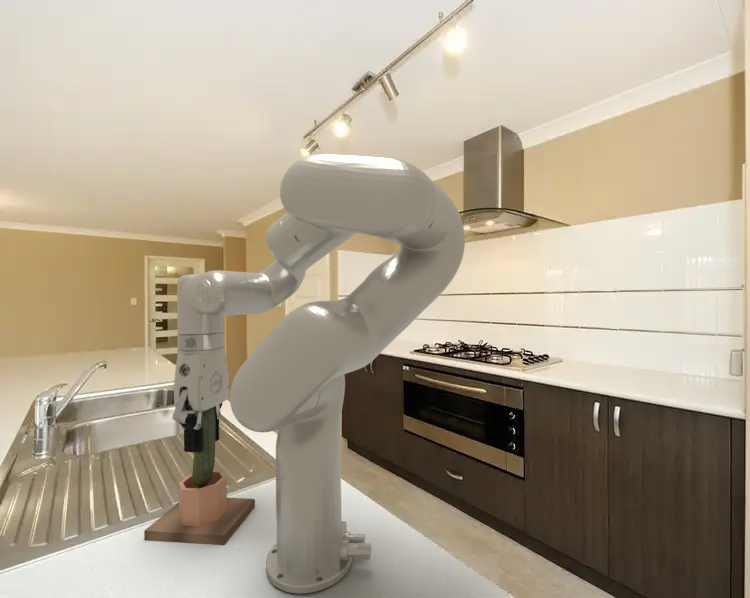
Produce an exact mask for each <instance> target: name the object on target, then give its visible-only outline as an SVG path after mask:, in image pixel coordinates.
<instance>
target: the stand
mask: <svg viewBox="0 0 750 598" xmlns="http://www.w3.org/2000/svg"><path fill="white" fill-rule="evenodd" d="M255 507H256V498H247V497H246V498H245V497H244V498H243V497H242V498H240V497H227V510H226V511H225V513H224V514H223V515H222V516H221V517H220V518H219V519H218V520H216V521H213V522H210V523H207V524H205V525H202V526H183V525H182V523H181V520H180V518H179V501H178V502H177V503H176V504H174V505H173V506H172V507H171V508H169V510H168V511H166V512H165V513H164V514H162V516H159V518H158V519H157V520H155V521H154V522H153V523H152V524H150V525H149V526H148V527H147V528H146V529H145V530H144V531H143V532H144V533H143V536H144V537H143V538H144V541H153V542H154V541H157V542H173V543H187V544H188V543H189V544H204V545H206V544H207V545H217V546H218V545H223V546H224V545H225V544H226V543H227V542H228V541H229V540H230V538H231V537H232V536H233V535H234V534H235V532H236V531H237V530H238V529H239V527H240V526H241V525H242V524H243V522H244V521H245V520H246V518H247V517H248V516H249V514H251V512H252V511H253V510H254V508H255Z"/></svg>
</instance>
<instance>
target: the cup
mask: <svg viewBox="0 0 750 598" xmlns="http://www.w3.org/2000/svg"><path fill="white" fill-rule="evenodd" d="M227 477H228V476H227V475H226V474H225V473H224V472H223V470H213V473H212V478H211V480H210V482H209V483H208V484H207V485H206V486H205V487H203V488H200V489H198V488H194V487H193V482H192V474H189V475H187V476H186V477H185V478H183V479H182V480H181V481H180V482H178V502H179V518H180V520H181V523H182V525H183V526H202V525H205V524H207V523H210V522H213V521H216V520H218V519H219V518H220V517H221V516H222V515H223V514H224V513H225V511H226V510H227V498H228V491H227V490H228V489H227V486H228V485H227V484H228V483H227V482H228V481H227V480H228V479H227Z"/></svg>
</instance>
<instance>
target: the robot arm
mask: <svg viewBox="0 0 750 598" xmlns="http://www.w3.org/2000/svg"><path fill="white" fill-rule="evenodd" d="M283 175H284V176H283V177H282V180H281V181H280V188H279V198H280V203H281V204H282V207H283V209H284V210H285V211H286V212H285V213H284V214H283V215H282V216H280V217H278V219H276V220H275V221H274V222H273V223H272V224H270V226H268V228H267V230H266V234H265V239H266V245H267V247H268V249H269V251H270V253H271V255H272V257H273V258H274V259H275V260H274V261H273V262H272V263H270V264H269V265H268V266H266V267H265V268H264V269H262V270H261V271H259V272H249V271H248V272H247V271H235V270H232V271H231V270H219V269H217V270H209V271H206V272H203V273H194V274H192V273H191V274H184V275H181V276H180V277H179V278H178V279H177V283H176V302H177V303H176V305H177V306H176V307H177V308H176V309H177V310H176V311H177V312H176V314H177V315H176V316H177V319H176V320H177V321H176V322H177V323H176V324H177V326H176V327H177V357H176V363H175V370H174V381H173V382H174V386H173V399H174V401H173V402H174V403H173V404H174V408H175V409H174V411H173V414H172V420H174V421H175V422H177V423H178V424H179V425H180V426H181V430H183V451H184V452H185V453H194V452H199V453H200V452H202V451H203V428H200V426H201V418H202V412H204V411H207V410H209V409H211V408H214V412H215V422H216V427H215V442H218V441H219V440H220V418H221V416H222V415H221V413H222V412H221V408H222V406H223V403H224V402H225V401H227V399H229V402H230V409H231V411H232V414H233V415H234V417H235V419H236V420H237V422H238V423H239V424H240V425H241V426H243V427H244V428H246V429H248V430H250V431H253V432H255V433H271V432H274V431H277V430H278V431H277V435H276V441H275V442H276V443H275V501H276V502H275V503H276V507H275V509H276V511H275V512H276V515H275V516H276V543H275V544H274V546H272V548H271V549H270V551H269V553H268V554H267V558H266V561H265V570H266V576H267V578H268V581H269V582H270V583H271V584H272V586H275V587H276V588H278V589H280V590H281V591H283V592H286V593H292V594H310V593H317V592H319V591H323V590H325V589H327V588H330V587H332V586H333V585H334V584H337V583H338V582H339V581H340V580H341V579H343V577H345V575H346V574H347V573H348V572H349V570H350V568H351V566H352V564H353V559H358V560H369V561H370V560H371V555H372V543H369V542H366V534H363V533H356V534H355V533H351V531H347V528H348V525H347V521H345V520H342V518H343V517H342V478H341V477H342V474H341V472H342V471H341V467H342V466H341V463H342V462H341V427H342V426H341V424H342V413H343V412H342V411H343V405H344V398H345V391H346V376H345V375H346V374H349V373H351V372H355V371H357V370H360V369H363V368H364V367H366V366H368V365H369V364H371V363H372V362H373V361H374V360H375V359H376V358H377V357H378V356H379V355H380V354H381V352H383V351H384V350H385V349H386V348H387V347H388V346H389V345H390V344H391V343H392V342H393V341H394V340H395V339H396V338H397V337H398V336H399V335H401V334H402V332H403V331H405V329H407V328H408V327H409V326H410V325H411V324H412V323H413V322H414V321H415V320H416V318H418V317H419V316H420V315H421V314H422V313H423V312H424V311H425V310H426V309H427V308H428V307H429V306H430V305H431V304H432V303H433V302H434V301H435V300H436V299H437V298H439V296H441V294H442V293H444V291H445V290H446V289H447V288H448V286H449V285H450V284H451V282H452V281H453V279H454V278H455V276H456V274H457V272H458V270H459V268H460V266H461V264H462V261H463V258H464V253H465V242H466V240H465V239H466V237H465V227H464V224H463V220H462V217H461V214H460V212H459V210H458V208H457V206H456V205H455V203H454V201H453V200H452V198H451V197H450V196H449V195H448V194H447V193H446V191H444V190H443V189H442V188H441V187H440V186H439V185H438V184H437V183H436V182H434V181H433V180H432V179H431V178H430V177H429V176H428V175H427V174H426V173H425V172H424V171H422V169H420V168H419V167H417V166H416V165H414V164H413V163H410V162H407V161H405V160H402V159H398V158H393V157H387V156H386V157H383V156H367V155H366V156H365V155H353V154H352V155H350V154H337V153H336V154H335V153H315V154H310V155H307V156H304V157H302V158H300V159H298V160H297V161H295V162H293V164H291V166H290V167H289V168H288V169H287V170H286V171H285V173H284V174H283ZM356 234H363V235H368V236H372V237H376V238H380V239H384V240H387V241H389V242H393V243H396V244H398V245H400V246H399V249H398V250H397V251H396V252H395V253H394V254H393V255H392V256H391V257H389V258H388V259H386V260H384V261H383V262H382V263H381V264H379V265H378V266H377V267H375V268H374V269H373V270H372V271H371V272H369V274H368V275H367V277H366V278H365V279H364V280H363V281H362V282H360V284H359V285H358V286H357V287H356V288H355V289H354V290H353V291H352V292H350V293H349V294H348V295H347V296H345V297H344V298H342V299H338V300H337V299H336V300H317V301H311V302H308V303H307V302H306V303H304V304H302V305H299V307H297V308H294V309H293V310H292V311H290V312H289V313H287V314H286V315H285V316H284V317H283V318H282V319H281V320H280V321H279V322H278V324H276V326H275V327H274V328H273V329H272V330H271V331H270V332H269V334H268V335H266V336H265V338H264V339H263V340H262V341H261V342H260V343H259V345H258V346H257V347H256V348H255V349H254V350H253V351H252V353H251V354H250V355H249V356H248V357H247V358H246V360H244V361H243V362H242V364H241V365H240V367H239V368H238V370H237V371H236V374H235V375H234V378H233V380H232V383H231V387H230V384H229V383H230V380H229V366H228V360H227V359H228V358H227V354H226V349H225V333H224V332H225V331H224V330H225V329H224V326H225V324H224V323H225V321H224V320H225V319H224V318H225V316H237V315H239V316H240V315H241V316H242V315H259V314H264V313H266V312H269V311H271V310H272V309H274V308H276V307H277V306H279V305H280V304H281V303H283V302H285V301H286V300H288V299H289V298H291V296H293V295H294V294H295V293H296V292H297V291H298V289H299V288H300V287H301V285H302V282H303V281H304V279H305V276H306V272H307V270H308V269H310V267H312V266H313V265H315V264H316V263H317V262H319V261H320V260H321V259H323V258H325V256H327V255H328V254H330V253H331V252H333V251H334V250H335V249H337V248H338V247H339V246H341V245H343V244H344V243H346V241H348V240H349V239H351V238H352V237H353V236H355V235H356ZM191 407H192V409H193V410H190V408H191ZM190 414H195V419H193V418H192V417H191V416H190Z"/></svg>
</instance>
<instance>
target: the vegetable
mask: <svg viewBox="0 0 750 598" xmlns="http://www.w3.org/2000/svg"><path fill="white" fill-rule="evenodd" d="M190 410H193V409H192V407H191V408H190ZM190 416H191V417H192V418H193V419H195V414H190ZM215 427H216V422H215V412H214V408H211V409H209V410H207V411H204V412H202V418H201V426H200V428H203V451H202V452H200V453H199V452H193V459H192V474H191V475H192V482H193V487H194V488H198V489H200V488H203V487H205V486H206V485H207V484H208V483H209V482H210V480H211V478H212V473H213V471H214V467H215V461H216V460H215V459H216V441H215Z"/></svg>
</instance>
